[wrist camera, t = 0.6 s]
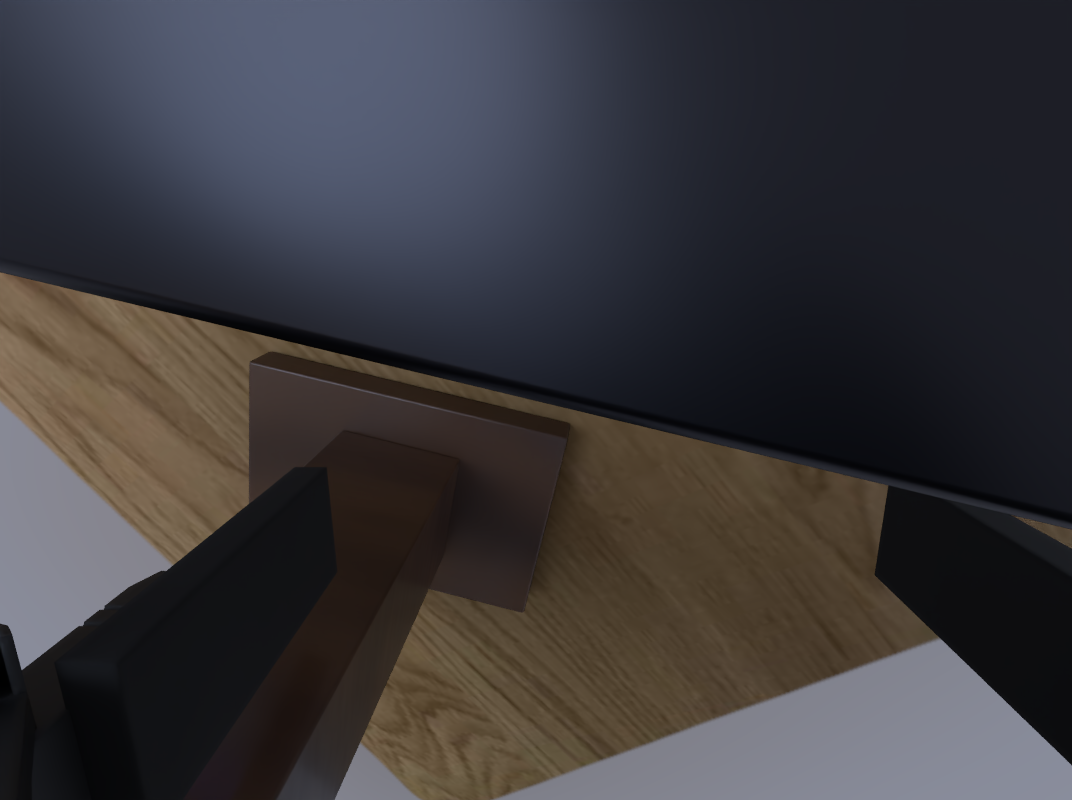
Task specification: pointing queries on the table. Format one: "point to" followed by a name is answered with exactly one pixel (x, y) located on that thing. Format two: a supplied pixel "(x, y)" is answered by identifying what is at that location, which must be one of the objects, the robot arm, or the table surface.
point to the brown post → (378, 551)
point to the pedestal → (593, 207)
